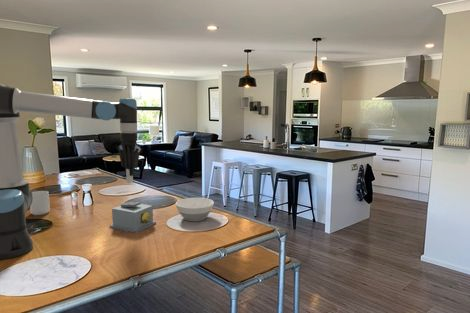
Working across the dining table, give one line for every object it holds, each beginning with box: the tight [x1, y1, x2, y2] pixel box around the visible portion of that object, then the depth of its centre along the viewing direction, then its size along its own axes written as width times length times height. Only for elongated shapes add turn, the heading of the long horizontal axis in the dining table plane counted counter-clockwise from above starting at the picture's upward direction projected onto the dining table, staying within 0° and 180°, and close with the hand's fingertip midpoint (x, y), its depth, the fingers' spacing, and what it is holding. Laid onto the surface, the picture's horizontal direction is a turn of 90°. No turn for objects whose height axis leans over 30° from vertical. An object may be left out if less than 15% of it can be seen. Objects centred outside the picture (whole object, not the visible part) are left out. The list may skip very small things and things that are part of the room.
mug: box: [29, 190, 51, 216], centre depth 179 cm, size 12×9×11 cm
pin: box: [141, 212, 151, 223], centre depth 160 cm, size 18×5×5 cm, turn 64°
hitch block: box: [109, 203, 157, 234], centre depth 160 cm, size 16×14×9 cm
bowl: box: [175, 197, 215, 222], centre depth 171 cm, size 19×20×8 cm
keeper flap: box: [120, 201, 142, 207], centre depth 159 cm, size 8×5×1 cm, turn 64°
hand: (129, 182), depth 157 cm, fingers closed
